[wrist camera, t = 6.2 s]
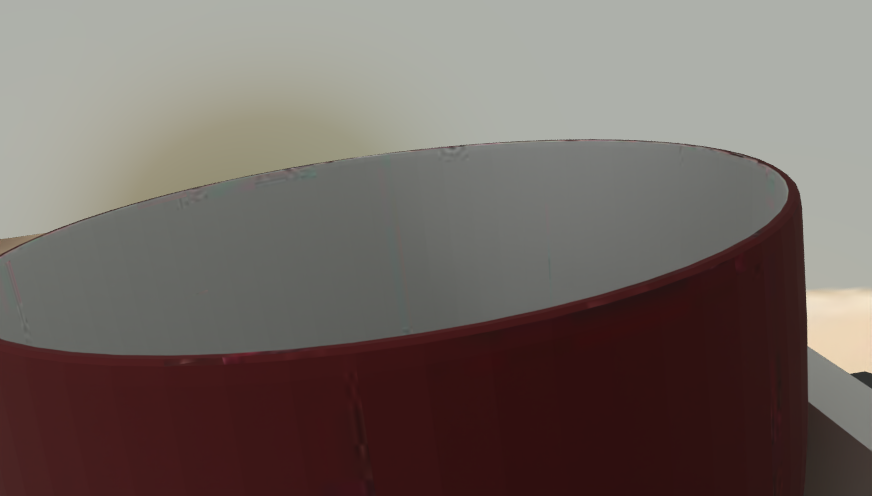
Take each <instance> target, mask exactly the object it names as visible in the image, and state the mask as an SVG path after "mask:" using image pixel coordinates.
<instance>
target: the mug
mask: <svg viewBox="0 0 872 496" xmlns="http://www.w3.org/2000/svg"><path fill="white" fill-rule="evenodd" d="M807 438H808V351H807V308H806V286H805V265H804V243H803V220H802V205H801V199H800V193H799V191H798V189H797V186H796V184H795V182H794V181H793V180H792V179H791V178H790V177H789V176H788V175H787V174H785V173H784V172H783V171H781V170H779V169H778V168H776V167H774V166H773V165H771V164H769V163H766V162H764V161H762V160H760V159H756V158H753V157H750V156H747V155H744V154H740V153H735V152H731V151H727V150H722V149H716V148H710V147H704V146H696V145H688V144H679V143H669V142H655V141H654V142H653V141H637V140H595V139H589V140H540V141H517V142H500V143H486V144H473V145H460V146H449V147H439V148H429V149H420V150H411V151H402V152H395V153H386V154H378V155H370V156H363V157H356V158H350V159H342V160H336V161H330V162H323V163H317V164H311V165H305V166H299V167H293V168H287V169H282V170H277V171H272V172H266V173H261V174H256V175H251V176H246V177H241V178H236V179H231V180H227V181H223V182H218V183H213V184H209V185H204V186H200V187H197V188H192V189H187V190H184V191H179V192H175V193H171V194H167V195H164V196H160V197H156V198H152V199H149V200H145V201H141V202H138V203H134V204H131V205H127V206H124V207H121V208H117V209H114V210H110V211H108V212H105V213H102V214H98V215H95V216H92V217H89V218H86V219H83V220H80V221H77V222H75V223H72V224H69V225H66V226H63V227H61V228H58V229H55V230H53V231H50V232H48V233H45V234H43V235H40V236H38V237H36V238H33V239H31V240H29V241H27V242H24V243H22V244H20V245H18V246H16V247H14V248H12V249H10V250H8V251H6V252H4V253H2V254H0V496H803V495H804V488H805V475H806V456H807Z"/></svg>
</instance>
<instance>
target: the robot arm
mask: <svg viewBox="0 0 872 496" xmlns="http://www.w3.org/2000/svg"><path fill="white" fill-rule="evenodd" d="M807 351H808V438H807V456H806V475H805V488H804V495H803V496H872V374H871V373H868V372H859V373H853V374H849V373H847V372H846V371H844V370H843V369H841V368H840V367H838V366H837V365H835V364H834V363H832V362H831V361H829V360H828V359H826V358H825V357H823V356H822V355H820V354H819V353H817V352H815V351H814V350H812V349H811V348H809V347H808V346H807Z"/></svg>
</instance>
